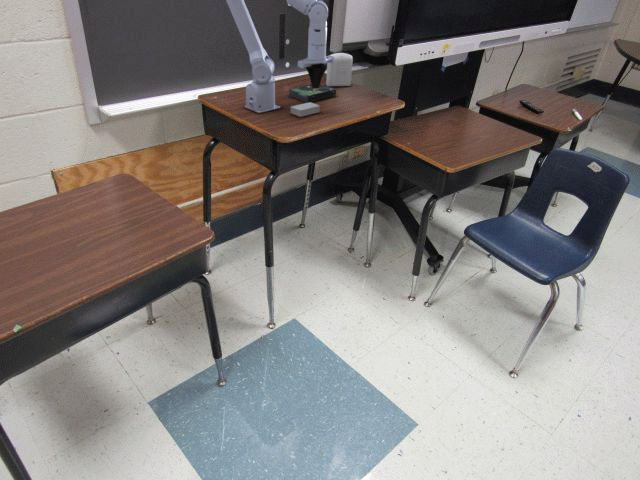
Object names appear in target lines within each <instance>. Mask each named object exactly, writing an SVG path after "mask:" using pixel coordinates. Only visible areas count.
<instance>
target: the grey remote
mask: <svg viewBox="0 0 640 480" xmlns="http://www.w3.org/2000/svg"><path fill="white" fill-rule="evenodd" d="M320 111H321V105H319V104H317V103H313V102H312V101H311V102H305V103H301V104H296V105H292V106H290V114H291V115H295V116H297V117H299V118H302V117H305V116H310V115H313V114H317V113H320Z"/></svg>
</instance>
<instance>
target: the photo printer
mask: <svg viewBox="0 0 640 480" xmlns="http://www.w3.org/2000/svg"><path fill="white" fill-rule="evenodd" d="M328 56H334V63H326V66H327V69H326V81H325V83H326V84H325V86H328V87H350V86H351V84H352V82H351V81H352V74H353V73H352V72H353V64H354V63H353V61H354V59H353V55H351V54H349V53H346V52H335V53H331V54H330V55H328Z"/></svg>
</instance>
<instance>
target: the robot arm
mask: <svg viewBox="0 0 640 480" xmlns="http://www.w3.org/2000/svg"><path fill="white" fill-rule="evenodd" d="M225 1H226V4H227V6H228V9H229V10H230V13H231V15H232V18H233V20H234V23H235V25H236V27H237V29H238V31H239V34H240V36H241V38H242V41H243V43H244V46H245V48H246V50H247V53H248V56H249V63H250V65H251V74H252V75H251V76H252V82H250V83H248V84H247V85H246V87H245V106H244V108H245V109H248V110H250V111H252V112H255V113H258V114H262V113H266V112H270V111H274V110H279V109H281V106H280V105H277V104H276V79H275V78H274V76H273V74H274V72H275V70H276V65H275V62H274V61H273V59H272V58H271V57H270V56H269V55H268V52H267V51H266V49H265V48H264V46H263V44H262V42H261V39H260V37H259V34H258V31H257V29H256V27H255V24H254V22H253V19H252V16H251V14H250V11H249V9H248V7H247V4H246V3H245V0H225ZM286 3H287V4H288V5H289V6H290V7H292V8H293V9H295V10H296V11H298V12H299V13H301V14H303V15H304V16H308V19H309V26H308V34H307V35H308V36H307V37H308V40H307V57H305V58H303V59H301V60H297V68H300V69H306V72H307V73H308V76H309V79H310V85H312V88H315V89H317V88H319V86H320V84H321V82H322V80H323V77H324V74H325V73H326V72H327V64H328V63H334V56H329V55H327V36H328V27H327V26H328V22H327V20H328V17H329V8H328V5H327V4H326V2H324V0H286ZM325 64H326V65H325Z"/></svg>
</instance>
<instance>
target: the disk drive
mask: <svg viewBox="0 0 640 480" xmlns="http://www.w3.org/2000/svg"><path fill="white" fill-rule="evenodd" d="M336 95H337V89H336V88H335V87H332V86H327V85H322V84H321V83H320V86H319V88H317V89H315V88H312V85H311V84H307V85H302V86H298V87H293V88H289V90H288V96H289V97H291V98H293V99H297V100H300V101H302V102H305V103H309V102H311V103H312V102H317V101H319V100H320V101H321V100H323V99H328V98H332V97H335V96H336Z"/></svg>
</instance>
